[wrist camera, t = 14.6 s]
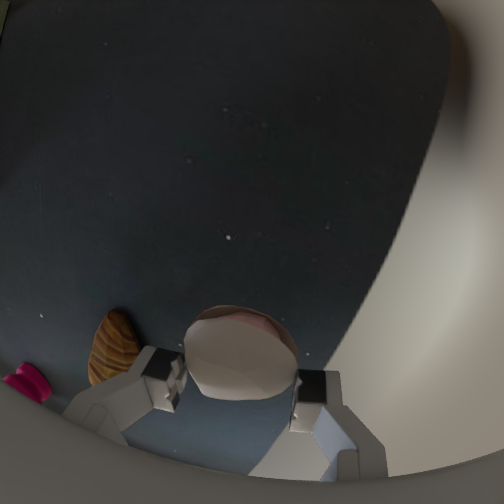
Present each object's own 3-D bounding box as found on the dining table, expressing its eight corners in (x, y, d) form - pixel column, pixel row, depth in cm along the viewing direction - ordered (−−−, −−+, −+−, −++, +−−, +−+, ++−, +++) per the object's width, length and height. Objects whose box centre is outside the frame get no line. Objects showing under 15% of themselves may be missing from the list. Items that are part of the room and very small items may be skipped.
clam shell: (318, 330, 11) (321, 378, 8) (251, 394, 13) (242, 436, 10) (221, 272, 10) (200, 313, 8) (170, 351, 12) (149, 391, 10)
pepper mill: (18, 350, 29) (-58, 437, 11) (54, 381, 30) (-18, 480, 11) (22, 374, 32) (-41, 452, 14) (55, 402, 33) (-4, 488, 14)
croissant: (161, 411, 27) (145, 446, 22) (107, 389, 27) (87, 420, 23) (161, 317, 22) (133, 359, 17) (91, 293, 22) (57, 325, 17)
